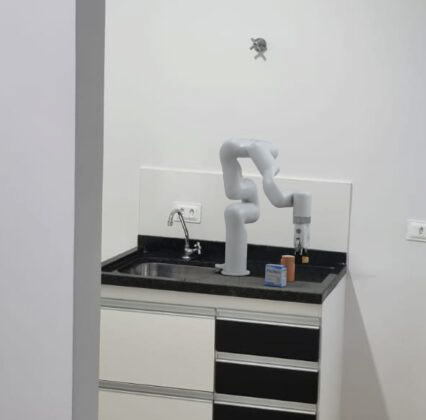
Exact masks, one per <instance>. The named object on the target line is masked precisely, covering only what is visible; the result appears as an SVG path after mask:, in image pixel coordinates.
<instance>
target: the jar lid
mask: <svg viewBox="0 0 426 420" xmlns="http://www.w3.org/2000/svg"><path fill="white" fill-rule="evenodd" d="M293 256H294V257H293V262H295V255H293ZM304 263H305V264H307V263H309V257H308V256H307V257H303V256H302V264H304Z"/></svg>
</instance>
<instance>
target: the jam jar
mask: <svg viewBox="0 0 426 420" xmlns="http://www.w3.org/2000/svg"><path fill="white" fill-rule="evenodd" d="M294 256H295V255H289V254H285V255H281V259H280V265H285V266H287V273H286V283H289V282H294V281H295V276H296V275H295V274H296V270H295V269H296V264H294V262H293V257H294Z"/></svg>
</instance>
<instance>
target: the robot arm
mask: <svg viewBox="0 0 426 420" xmlns="http://www.w3.org/2000/svg"><path fill="white" fill-rule="evenodd" d="M218 154H219V155H218V156H219V161H220V166H221V169H222V171H221V172H222V180H223V188H224V194H225V197H226V198H227V199H228V200H231V201H241V202H232V203H230V204H228V205H227V206H226V207H225V209H224V211H223V218H224V224H225V249H224V250H225V252H224V254H225V255H224V263H222V264H220V263H215V265H214V269H217V270H221V272H220V274H221V275H223V276H230V277H244V276H249V275H250V274H251V271H250V270H248V269H247V263H248V262H247V261H248V260H247V258H248V230H247V228H246V226H245V225H247V224H254V223H256V222H257V221H258V220H259V219H260V216H261V207H260V198H259V197H260V196H259V191H258V190H259V189H258V187H257V184H256V182H255V181H254V180H253V179H251V178H247V177H244V176H243V170H242V166H241V163H240V162H239V160H238V159H239V158H241V159H251V160H252V163H253V164H254V166H255V167H256V169H257V170H258V172H259V173H260V175H261V177H262V183H261V184H262V190H263V193H264V195H265V197H266V199H267V200H268V201H269V203H270V204H271V205H272V206H273V207H275V208H278V209H285V208H292V225H294V226H293V227H294V229H293V247H294V256H295V262H294V264H295V265H297V266H299V265H300V266H301V265H303V263H302V256H303V257H308V253H307V252H308V249H307V248H309V247H310V245H311V238H310V237H311V230H310V229H311V228H310V225H311V223H312V222H311V220H312V193H311V191H308V190H297V189H291V188H290V189H281V188H280V187H279V185H278V184H277V182H276V180H275V177H276V176H277V175H278V174H279V172H280V170H281V167H280V165H279V163H278V162H277V161H276V159H277V158H278V155H279V149H278V147H277V145H276V144H275V143H274V142H272V141H269V140H261V139H255V138H241V137H235V138H228V139H227V140H225V141H223V142H222V144H221V146H220V148H219V153H218Z"/></svg>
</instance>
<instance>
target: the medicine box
mask: <svg viewBox="0 0 426 420" xmlns="http://www.w3.org/2000/svg"><path fill="white" fill-rule="evenodd" d="M286 273H287V266H285V265H281V264H277V263H276V264H274V263H267V264H265V275H264V286H266V287H268V286H269V287H277V288H283V287H286V286H287V281H286Z"/></svg>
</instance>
